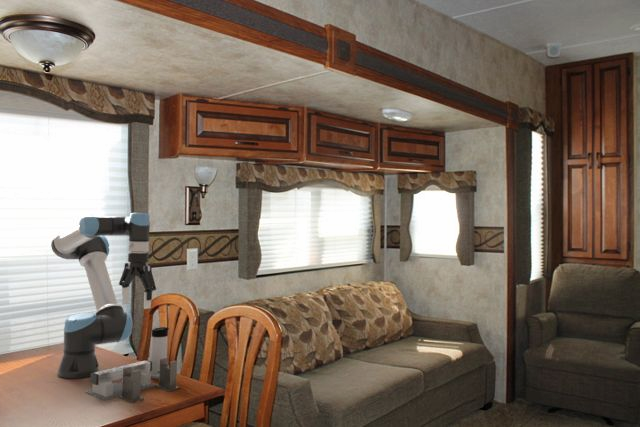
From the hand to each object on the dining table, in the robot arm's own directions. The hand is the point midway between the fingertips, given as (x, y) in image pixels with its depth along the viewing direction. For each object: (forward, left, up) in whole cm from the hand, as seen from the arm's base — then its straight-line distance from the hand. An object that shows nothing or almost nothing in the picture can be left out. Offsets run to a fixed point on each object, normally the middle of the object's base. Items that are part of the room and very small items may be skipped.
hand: (136, 306), depth 216 cm
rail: (+7, -10, -24) cm, 27 cm away
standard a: (+18, -14, -29) cm, 37 cm away
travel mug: (+5, +8, -29) cm, 30 cm away
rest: (+7, -10, -29) cm, 31 cm away
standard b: (+18, +2, -29) cm, 34 cm away
